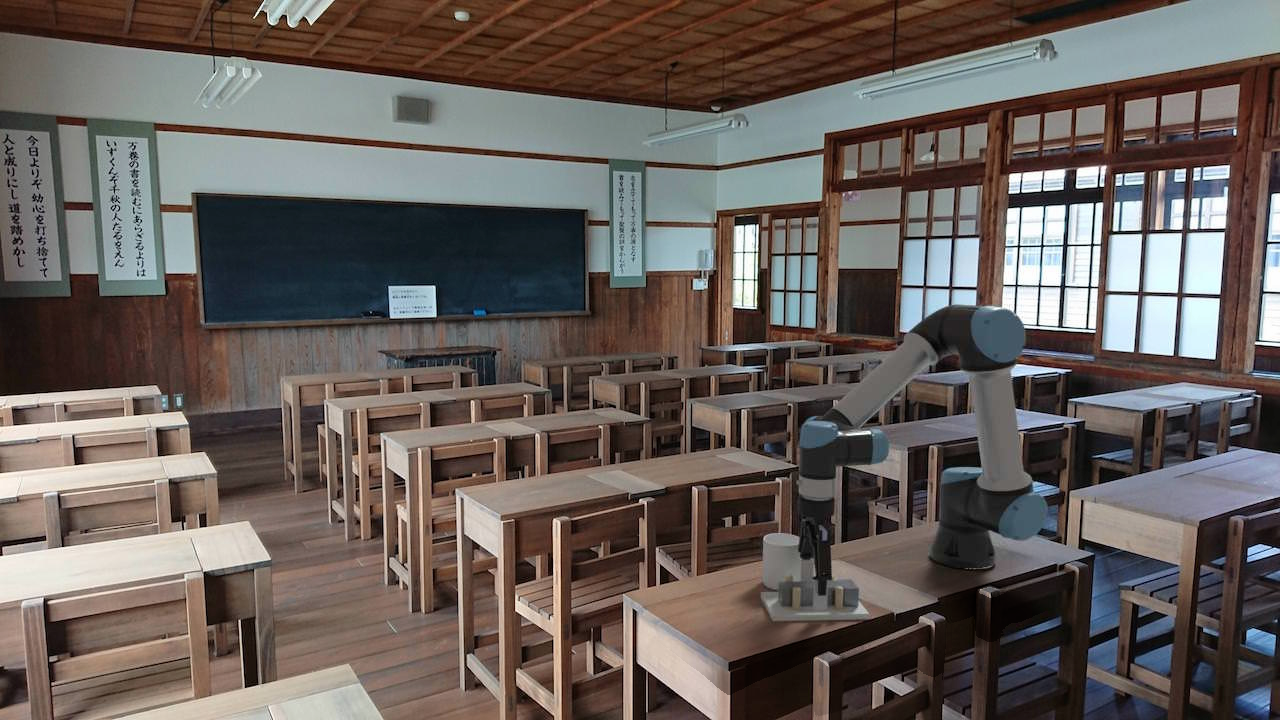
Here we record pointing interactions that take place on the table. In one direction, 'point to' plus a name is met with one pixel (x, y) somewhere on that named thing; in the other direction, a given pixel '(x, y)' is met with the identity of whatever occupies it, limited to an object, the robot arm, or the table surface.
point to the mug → (780, 559)
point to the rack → (811, 607)
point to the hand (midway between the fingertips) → (812, 598)
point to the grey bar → (808, 589)
